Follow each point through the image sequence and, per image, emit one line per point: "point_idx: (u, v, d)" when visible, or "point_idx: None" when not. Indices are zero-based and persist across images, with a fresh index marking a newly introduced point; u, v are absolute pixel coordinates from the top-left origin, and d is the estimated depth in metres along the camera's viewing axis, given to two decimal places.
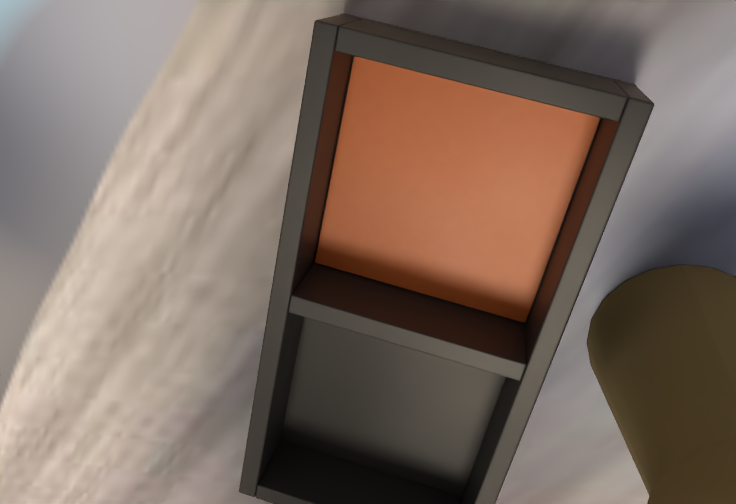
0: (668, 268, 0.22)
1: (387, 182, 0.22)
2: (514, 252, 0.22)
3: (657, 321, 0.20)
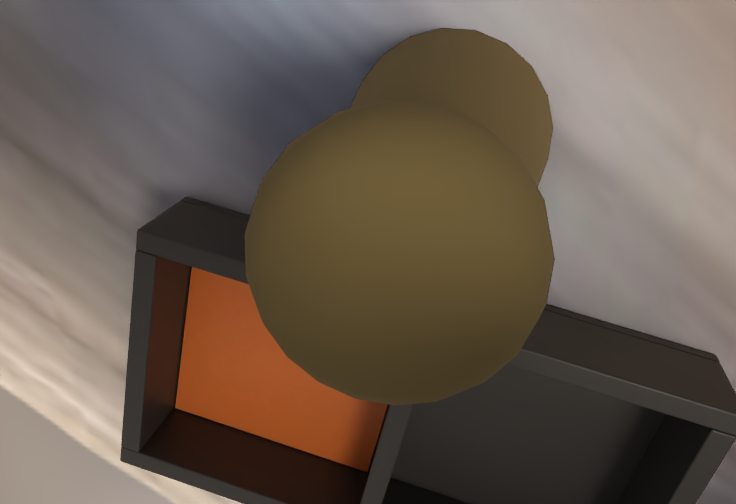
0: None
1: (283, 402, 0.24)
2: None
3: None
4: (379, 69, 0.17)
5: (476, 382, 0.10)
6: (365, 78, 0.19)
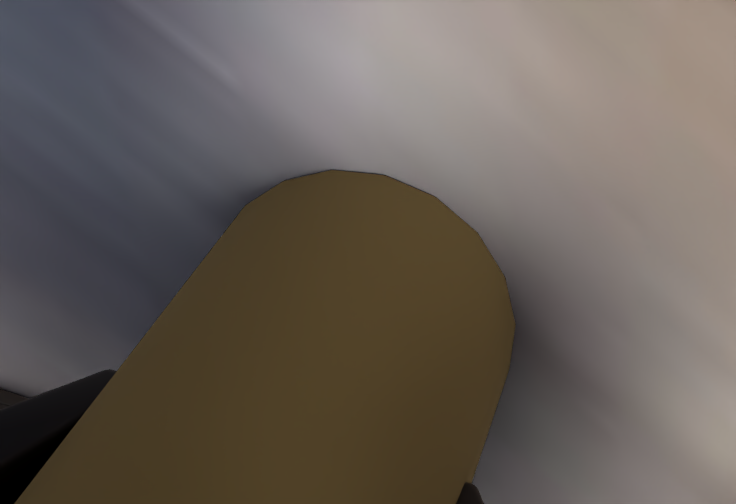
0: None
1: None
2: None
3: None
4: (207, 259, 0.10)
5: None
6: None
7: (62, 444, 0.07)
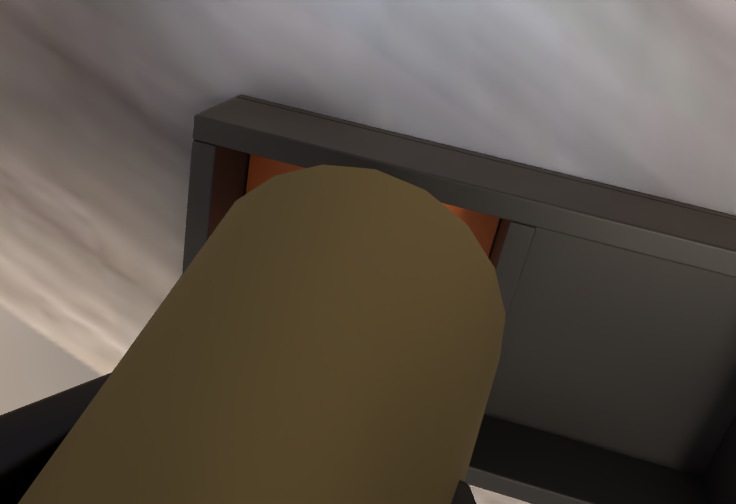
0: None
1: None
2: None
3: None
4: (200, 255, 0.10)
5: None
6: None
7: (65, 440, 0.07)
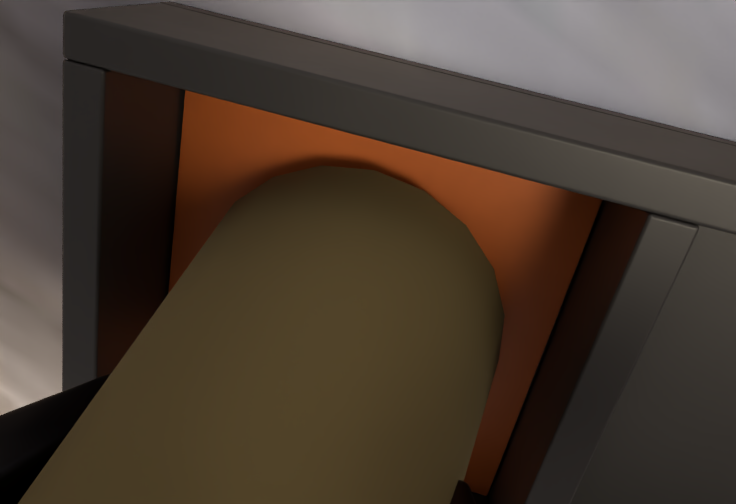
0: None
1: None
2: (457, 189, 0.12)
3: None
4: (199, 256, 0.10)
5: None
6: None
7: (64, 442, 0.07)
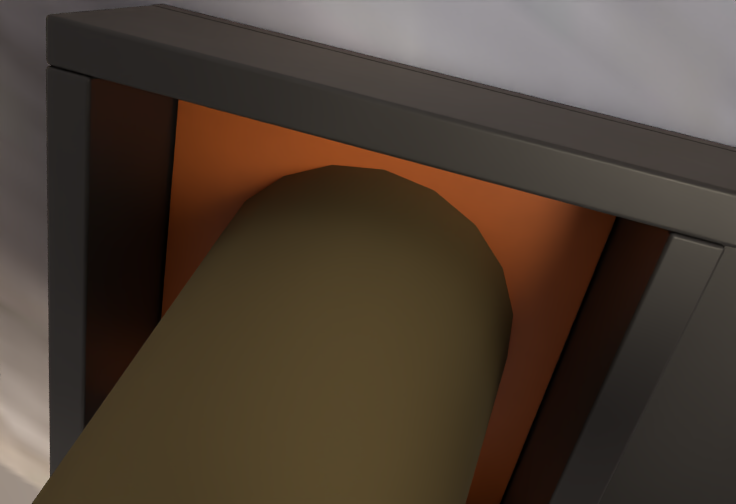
0: None
1: None
2: (463, 201, 0.11)
3: None
4: (211, 254, 0.10)
5: None
6: None
7: (82, 437, 0.07)
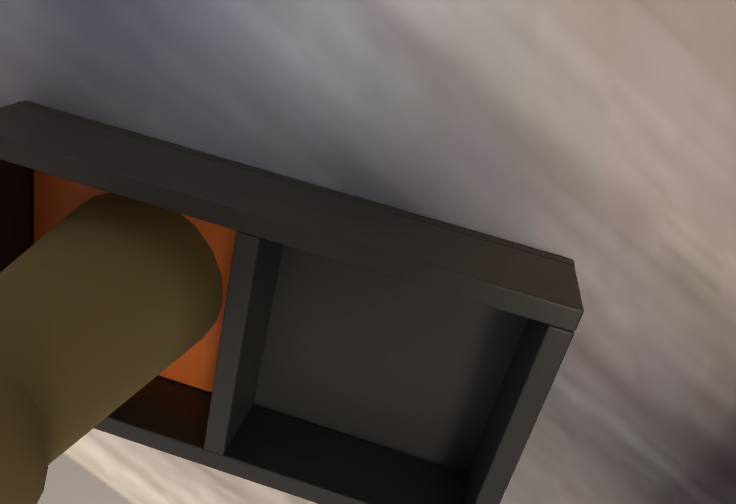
0: None
1: None
2: None
3: None
4: (39, 239, 0.19)
5: None
6: None
7: None
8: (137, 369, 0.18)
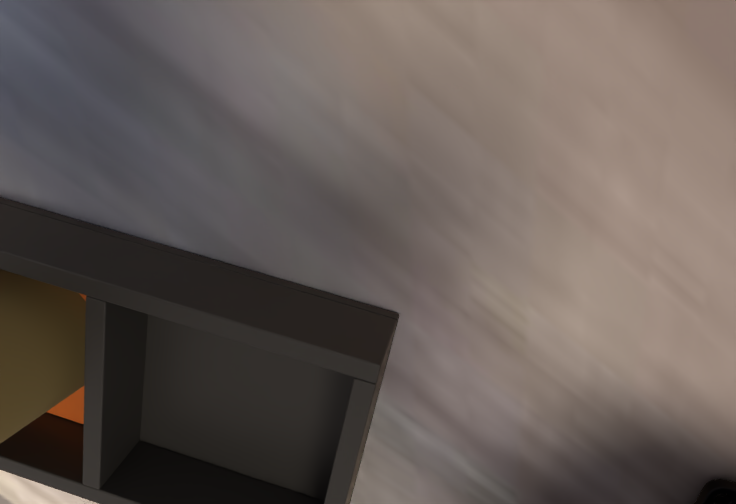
0: None
1: None
2: None
3: None
4: None
5: None
6: None
7: None
8: (1, 418, 0.20)
